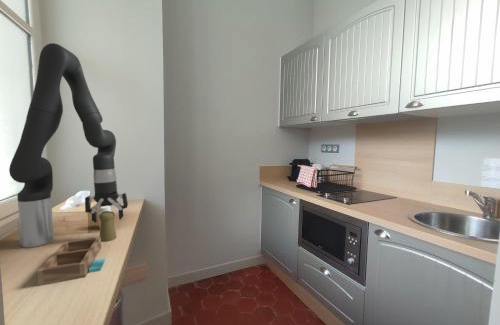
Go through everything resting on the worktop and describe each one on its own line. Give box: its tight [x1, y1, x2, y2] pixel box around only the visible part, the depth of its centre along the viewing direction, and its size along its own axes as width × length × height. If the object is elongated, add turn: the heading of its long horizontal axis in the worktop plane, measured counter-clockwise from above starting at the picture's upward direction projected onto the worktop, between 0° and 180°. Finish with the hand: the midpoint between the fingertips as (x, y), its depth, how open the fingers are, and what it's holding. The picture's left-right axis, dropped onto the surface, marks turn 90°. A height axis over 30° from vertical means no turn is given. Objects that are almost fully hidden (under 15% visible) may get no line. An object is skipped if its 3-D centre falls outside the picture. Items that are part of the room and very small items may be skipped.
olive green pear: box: [98, 210, 118, 243], centre depth 91 cm, size 6×6×11 cm
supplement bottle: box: [98, 205, 112, 229], centre depth 104 cm, size 5×5×10 cm
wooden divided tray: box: [36, 236, 106, 286], centre depth 73 cm, size 20×14×4 cm
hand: (108, 220), depth 92 cm, fingers open, 8 cm apart
